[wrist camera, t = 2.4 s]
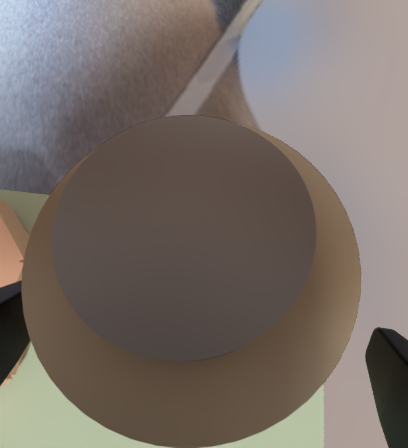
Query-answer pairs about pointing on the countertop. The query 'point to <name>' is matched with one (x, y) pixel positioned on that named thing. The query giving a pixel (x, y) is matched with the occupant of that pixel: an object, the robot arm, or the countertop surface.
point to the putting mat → (88, 428)
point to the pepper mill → (191, 282)
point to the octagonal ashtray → (11, 255)
